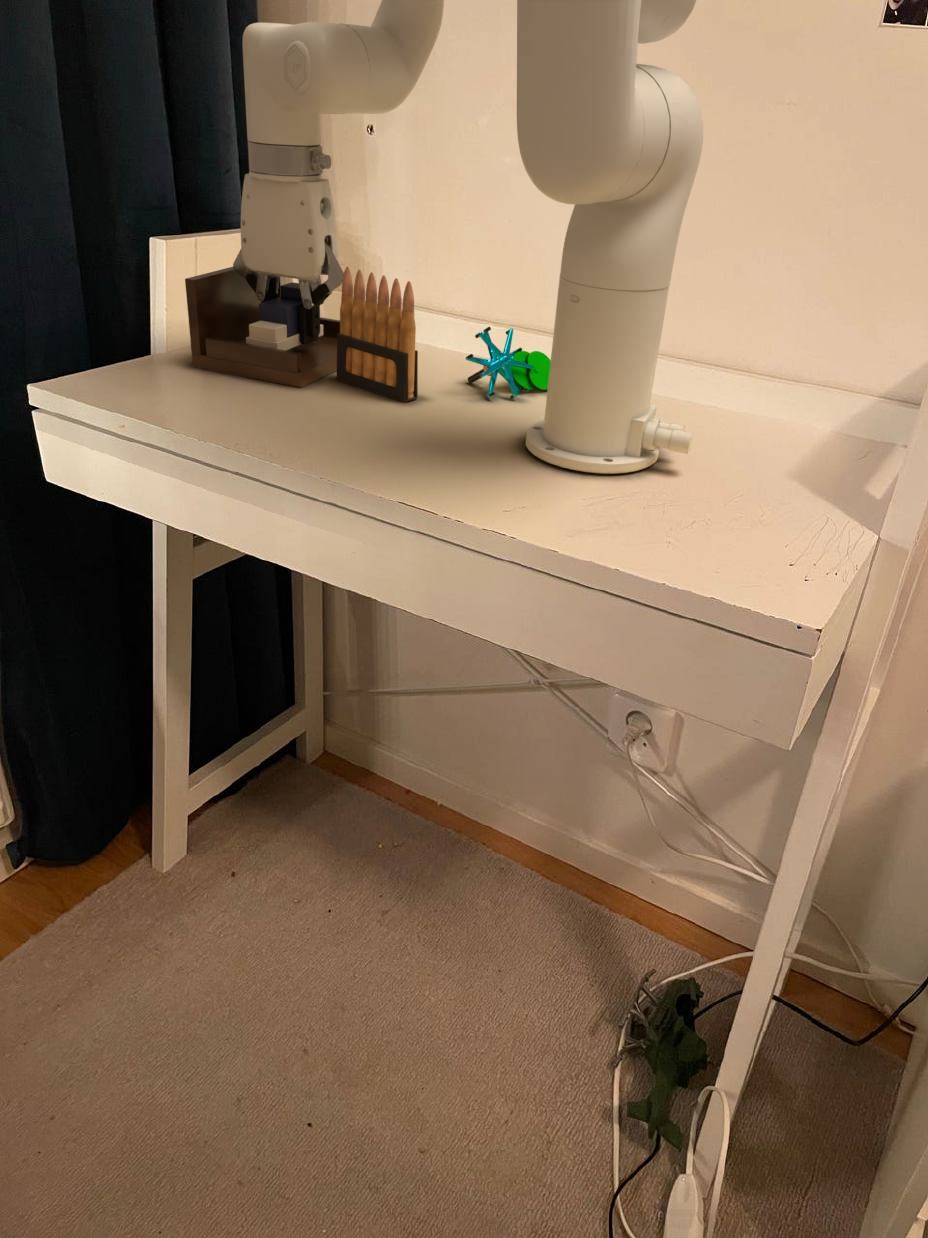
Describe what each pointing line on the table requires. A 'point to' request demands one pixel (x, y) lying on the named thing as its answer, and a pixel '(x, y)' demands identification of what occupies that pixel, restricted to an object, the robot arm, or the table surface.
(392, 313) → the ammunition clip
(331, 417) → the table surface
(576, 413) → the robot arm
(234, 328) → the wooden book end
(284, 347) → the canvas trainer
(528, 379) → the stick construction toy
